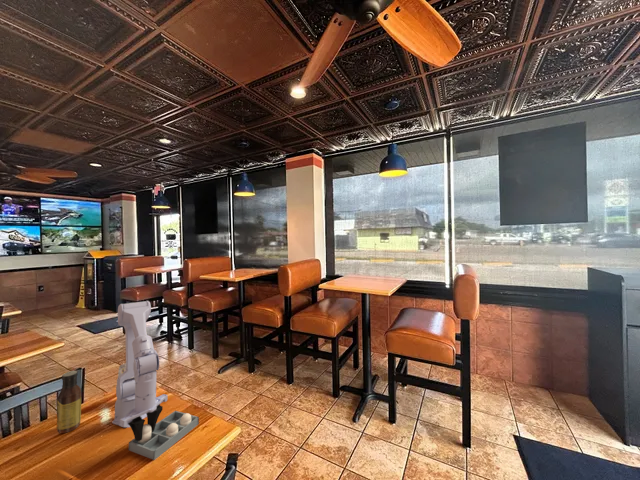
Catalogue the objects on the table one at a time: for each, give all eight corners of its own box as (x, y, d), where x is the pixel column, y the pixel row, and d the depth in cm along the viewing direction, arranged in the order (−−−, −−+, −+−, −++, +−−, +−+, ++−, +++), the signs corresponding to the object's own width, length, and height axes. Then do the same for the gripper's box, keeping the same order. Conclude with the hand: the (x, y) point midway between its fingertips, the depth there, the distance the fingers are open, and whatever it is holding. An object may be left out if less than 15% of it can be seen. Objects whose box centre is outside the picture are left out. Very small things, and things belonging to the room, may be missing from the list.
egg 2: (163, 440, 85) (163, 426, 85) (172, 433, 88) (173, 419, 88) (171, 443, 84) (171, 428, 84) (180, 435, 87) (180, 421, 87)
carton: (128, 451, 81) (128, 442, 81) (175, 418, 97) (175, 410, 97) (154, 462, 77) (154, 451, 77) (198, 425, 93) (198, 417, 93)
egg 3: (177, 429, 90) (177, 416, 90) (185, 423, 93) (186, 410, 94) (185, 431, 89) (185, 418, 89) (193, 425, 92) (193, 412, 92)
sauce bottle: (63, 424, 94) (65, 369, 94) (84, 421, 96) (86, 367, 96) (51, 437, 87) (53, 378, 88) (73, 432, 89) (75, 375, 90)
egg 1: (135, 442, 82) (135, 427, 82) (146, 434, 85) (146, 420, 85) (143, 445, 80) (143, 430, 81) (153, 437, 84) (154, 422, 84)
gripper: (131, 408, 75) (130, 455, 75) (174, 383, 89) (173, 423, 88) (115, 403, 78) (114, 449, 77) (159, 380, 91) (158, 419, 91)
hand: (144, 435), depth 83 cm, fingers closed on egg 1, 4 cm apart
